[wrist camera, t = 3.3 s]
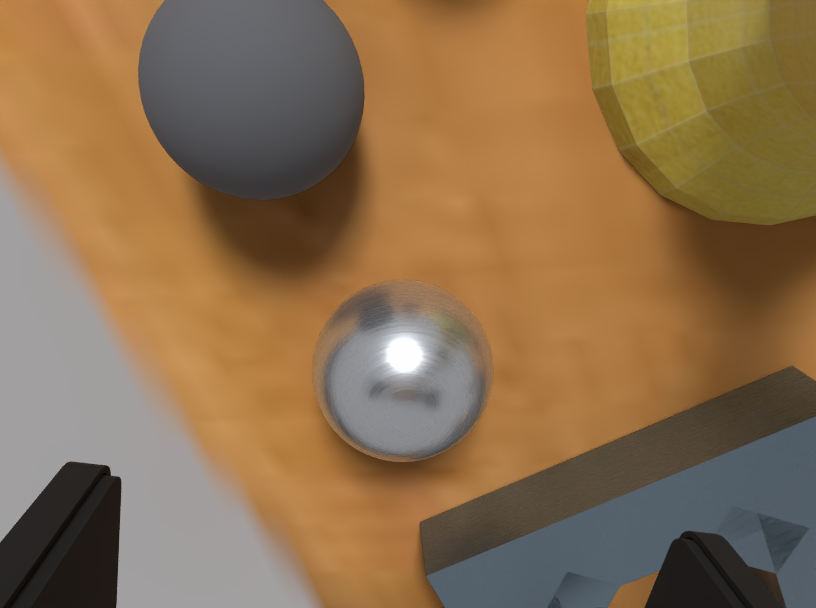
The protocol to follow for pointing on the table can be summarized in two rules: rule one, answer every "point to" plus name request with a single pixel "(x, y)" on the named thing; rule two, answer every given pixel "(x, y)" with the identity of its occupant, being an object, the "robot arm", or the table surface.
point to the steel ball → (402, 370)
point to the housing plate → (645, 508)
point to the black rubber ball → (252, 92)
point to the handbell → (712, 101)
